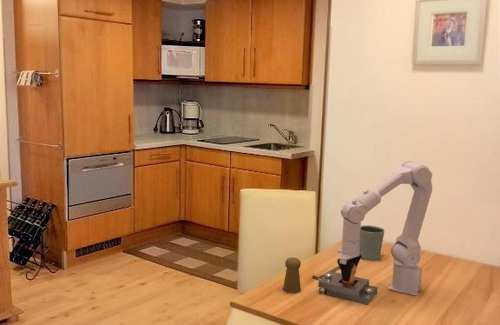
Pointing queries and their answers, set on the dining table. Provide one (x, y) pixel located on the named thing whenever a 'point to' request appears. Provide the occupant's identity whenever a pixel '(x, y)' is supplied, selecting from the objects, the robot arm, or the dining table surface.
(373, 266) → the dining table surface
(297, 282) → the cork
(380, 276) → the dining table surface
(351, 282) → the pin
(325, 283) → the link upper
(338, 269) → the tomahawk
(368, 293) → the link lower
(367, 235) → the green cup
